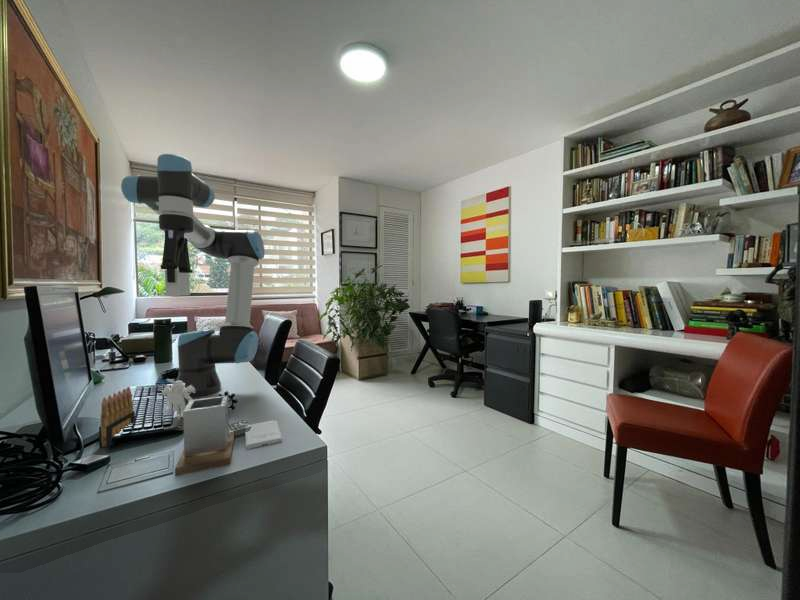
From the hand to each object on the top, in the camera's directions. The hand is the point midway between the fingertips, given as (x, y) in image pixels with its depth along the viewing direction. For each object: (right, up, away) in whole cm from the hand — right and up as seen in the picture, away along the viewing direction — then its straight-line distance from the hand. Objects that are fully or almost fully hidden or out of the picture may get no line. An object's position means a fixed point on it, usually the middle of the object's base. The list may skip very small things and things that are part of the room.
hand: (178, 295), depth 86 cm
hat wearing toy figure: (-7, -37, +11) cm, 39 cm away
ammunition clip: (-14, -37, -3) cm, 40 cm away
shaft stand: (+15, -37, -11) cm, 41 cm away
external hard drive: (+23, -37, -2) cm, 44 cm away
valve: (+6, -37, +9) cm, 38 cm away
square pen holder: (+15, -35, -11) cm, 40 cm away
